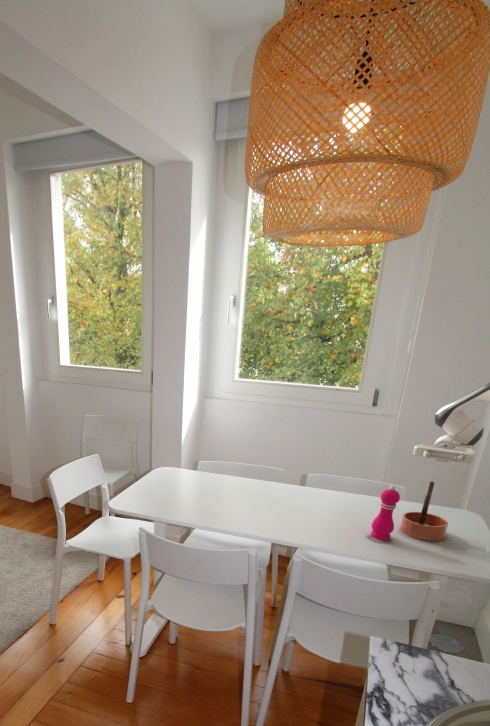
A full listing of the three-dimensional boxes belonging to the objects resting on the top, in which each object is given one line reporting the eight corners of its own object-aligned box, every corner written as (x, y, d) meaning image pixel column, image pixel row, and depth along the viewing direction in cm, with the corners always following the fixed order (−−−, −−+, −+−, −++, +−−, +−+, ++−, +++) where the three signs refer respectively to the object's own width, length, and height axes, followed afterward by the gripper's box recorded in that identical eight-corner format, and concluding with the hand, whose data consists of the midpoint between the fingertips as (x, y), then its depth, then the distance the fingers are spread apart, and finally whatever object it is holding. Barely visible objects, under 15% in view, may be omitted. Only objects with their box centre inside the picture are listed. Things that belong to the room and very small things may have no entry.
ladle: (430, 530, 174) (443, 481, 167) (424, 534, 170) (437, 484, 163) (414, 526, 177) (426, 478, 170) (408, 530, 174) (420, 480, 167)
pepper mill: (389, 544, 164) (403, 491, 156) (367, 538, 167) (380, 486, 159) (391, 536, 170) (405, 484, 161) (370, 531, 173) (383, 480, 165)
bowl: (445, 532, 174) (449, 517, 172) (442, 546, 163) (446, 530, 161) (402, 523, 182) (406, 509, 179) (396, 535, 170) (400, 520, 168)
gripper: (417, 438, 188) (412, 445, 178) (477, 446, 178) (476, 453, 167) (413, 454, 191) (408, 461, 180) (472, 462, 180) (471, 470, 170)
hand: (441, 457), depth 174 cm, fingers open, 8 cm apart
